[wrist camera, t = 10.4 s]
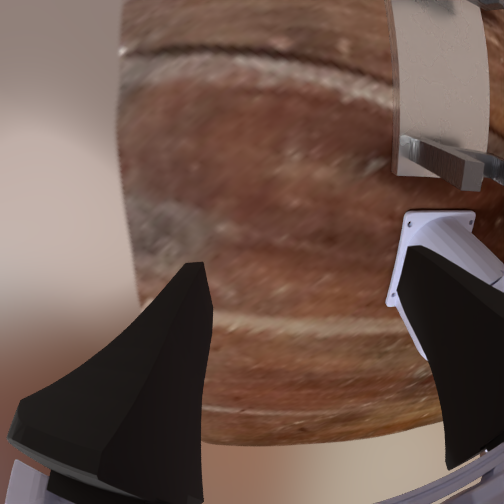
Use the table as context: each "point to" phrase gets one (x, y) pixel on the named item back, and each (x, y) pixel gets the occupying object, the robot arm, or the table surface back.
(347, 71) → the table surface
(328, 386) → the table surface
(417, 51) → the hook stand
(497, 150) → the table surface
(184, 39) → the table surface
